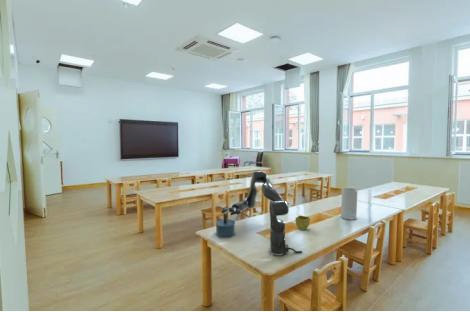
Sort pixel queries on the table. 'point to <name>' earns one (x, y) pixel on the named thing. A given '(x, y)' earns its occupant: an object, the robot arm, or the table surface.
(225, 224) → the lid
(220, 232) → the pot
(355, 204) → the cylinder vase
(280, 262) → the table surface
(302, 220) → the flower pot
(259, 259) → the table surface
